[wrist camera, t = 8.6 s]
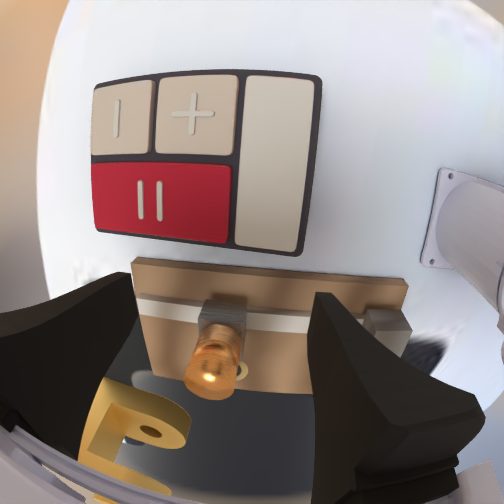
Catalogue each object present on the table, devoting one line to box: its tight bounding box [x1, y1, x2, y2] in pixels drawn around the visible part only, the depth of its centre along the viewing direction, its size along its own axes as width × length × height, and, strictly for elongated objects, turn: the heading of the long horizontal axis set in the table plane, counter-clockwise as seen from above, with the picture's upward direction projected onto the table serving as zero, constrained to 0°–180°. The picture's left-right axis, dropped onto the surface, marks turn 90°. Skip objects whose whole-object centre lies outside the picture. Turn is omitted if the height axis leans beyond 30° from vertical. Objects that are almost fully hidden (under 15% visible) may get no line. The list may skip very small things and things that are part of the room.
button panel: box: [91, 69, 322, 257], centre depth 17 cm, size 11×4×15 cm
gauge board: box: [131, 257, 413, 394], centre depth 22 cm, size 22×13×5 cm, turn 87°
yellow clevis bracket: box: [77, 377, 191, 504], centre depth 24 cm, size 20×9×16 cm, turn 81°
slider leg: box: [184, 299, 247, 400], centre depth 19 cm, size 3×9×7 cm, turn 177°
